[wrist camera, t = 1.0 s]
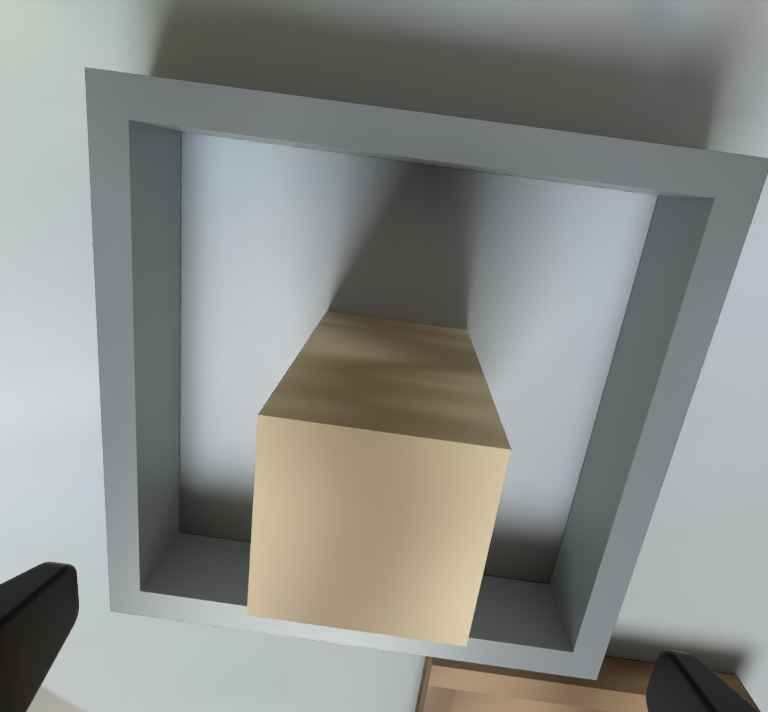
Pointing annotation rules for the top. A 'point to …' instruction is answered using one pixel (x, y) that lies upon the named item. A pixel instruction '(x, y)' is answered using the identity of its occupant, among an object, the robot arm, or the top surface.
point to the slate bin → (425, 146)
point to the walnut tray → (539, 688)
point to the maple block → (377, 482)
